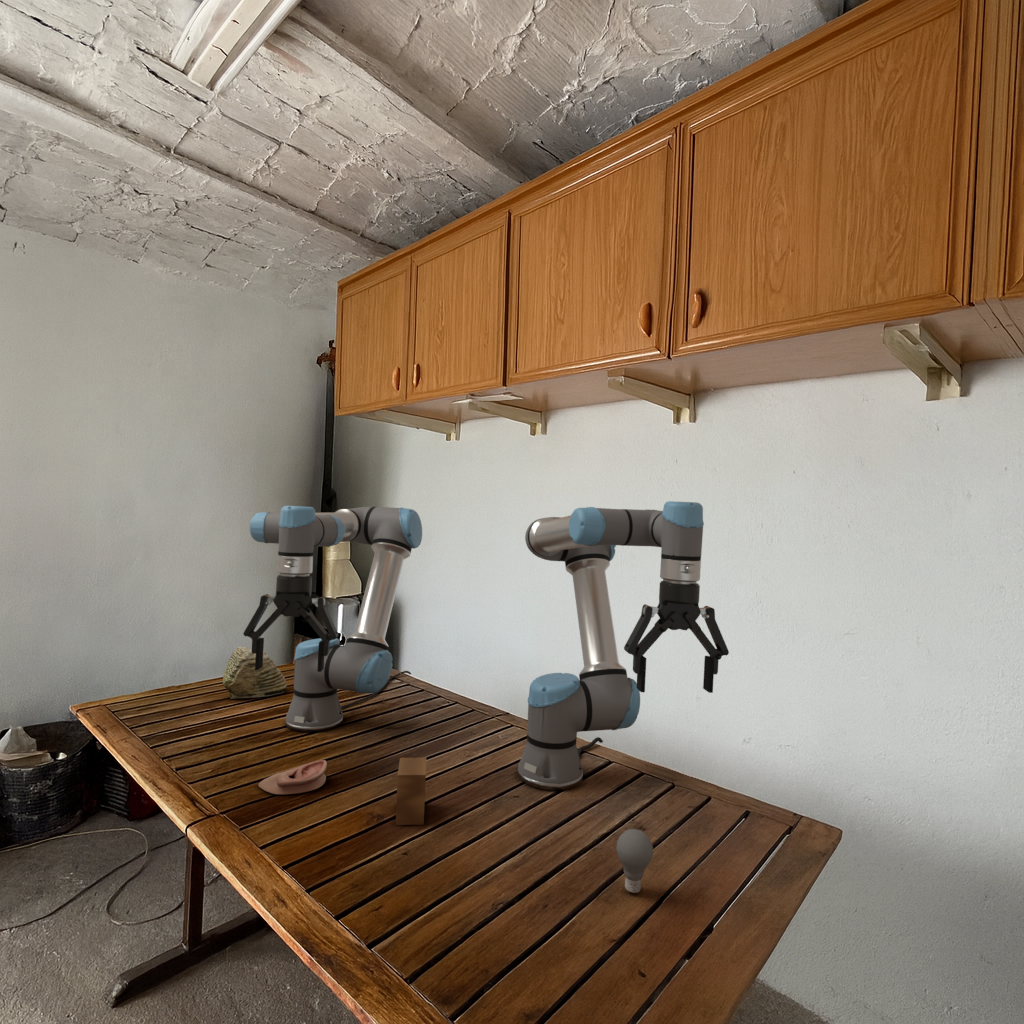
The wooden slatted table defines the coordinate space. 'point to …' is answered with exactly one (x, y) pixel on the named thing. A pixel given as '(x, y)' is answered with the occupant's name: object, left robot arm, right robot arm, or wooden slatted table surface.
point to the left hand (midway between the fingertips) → (289, 669)
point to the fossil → (252, 676)
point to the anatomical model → (296, 779)
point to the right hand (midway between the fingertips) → (674, 690)
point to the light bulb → (634, 857)
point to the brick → (411, 791)
